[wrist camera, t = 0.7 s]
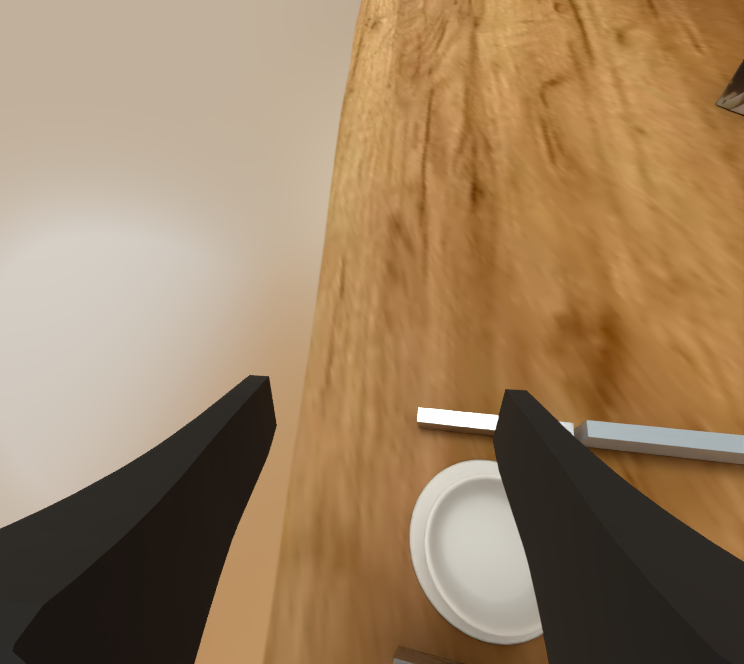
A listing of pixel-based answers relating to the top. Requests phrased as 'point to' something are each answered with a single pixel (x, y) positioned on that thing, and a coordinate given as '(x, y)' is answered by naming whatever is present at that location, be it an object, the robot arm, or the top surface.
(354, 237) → the top surface
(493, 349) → the top surface
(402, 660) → the slot rails
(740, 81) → the coffee box
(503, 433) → the robot arm
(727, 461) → the blue-gray u-shaped frame
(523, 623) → the teacup
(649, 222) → the top surface
